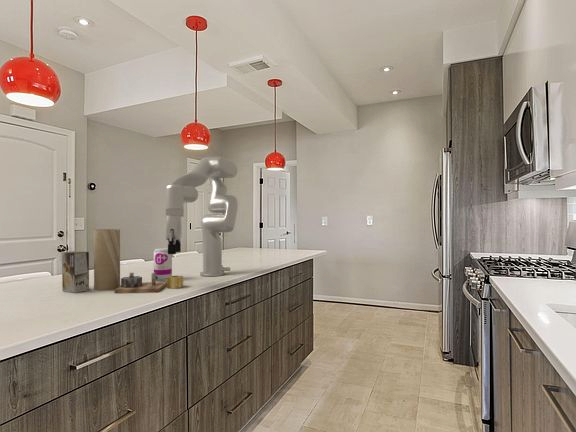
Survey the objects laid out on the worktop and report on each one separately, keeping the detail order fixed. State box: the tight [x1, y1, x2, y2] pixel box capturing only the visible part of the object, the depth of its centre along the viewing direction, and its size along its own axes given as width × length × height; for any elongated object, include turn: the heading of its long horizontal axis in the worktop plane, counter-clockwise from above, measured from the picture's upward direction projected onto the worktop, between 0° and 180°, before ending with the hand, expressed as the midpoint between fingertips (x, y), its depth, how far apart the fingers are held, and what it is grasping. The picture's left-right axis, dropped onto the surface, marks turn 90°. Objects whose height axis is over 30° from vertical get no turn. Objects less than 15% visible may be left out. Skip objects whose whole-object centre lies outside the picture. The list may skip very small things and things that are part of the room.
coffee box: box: [61, 250, 90, 294], centre depth 148 cm, size 9×6×16 cm
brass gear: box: [166, 275, 184, 290], centre depth 155 cm, size 7×7×4 cm
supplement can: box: [153, 247, 173, 282], centre depth 172 cm, size 8×8×15 cm
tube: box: [93, 228, 121, 292], centre depth 153 cm, size 10×10×25 cm
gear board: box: [113, 272, 167, 294], centre depth 151 cm, size 17×14×7 cm
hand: (174, 253), depth 155 cm, fingers open, 9 cm apart
